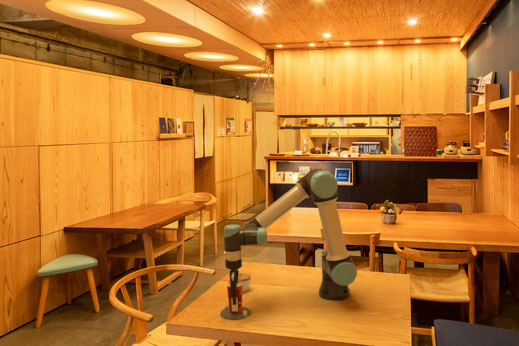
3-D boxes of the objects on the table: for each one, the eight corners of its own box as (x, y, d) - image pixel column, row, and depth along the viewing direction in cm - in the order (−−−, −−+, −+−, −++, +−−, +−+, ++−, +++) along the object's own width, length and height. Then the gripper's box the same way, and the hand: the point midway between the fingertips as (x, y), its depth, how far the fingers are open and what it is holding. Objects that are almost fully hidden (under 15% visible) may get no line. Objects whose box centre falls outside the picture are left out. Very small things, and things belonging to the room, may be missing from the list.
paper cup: (245, 312, 230) (244, 283, 229) (229, 315, 229) (227, 284, 227) (242, 306, 238) (240, 277, 236) (226, 309, 236) (224, 279, 235)
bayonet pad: (251, 307, 240) (251, 301, 240) (250, 319, 226) (250, 312, 226) (221, 308, 240) (221, 302, 240) (219, 320, 226) (218, 314, 226)
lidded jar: (252, 287, 269) (251, 270, 268) (250, 294, 258) (249, 276, 257) (232, 287, 270) (231, 270, 269) (229, 294, 259) (228, 276, 258)
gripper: (227, 253, 240) (229, 300, 243) (222, 265, 221) (225, 316, 223) (243, 252, 240) (245, 300, 243) (239, 265, 221) (242, 316, 223)
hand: (235, 307), depth 233 cm, fingers closed on paper cup, 7 cm apart
